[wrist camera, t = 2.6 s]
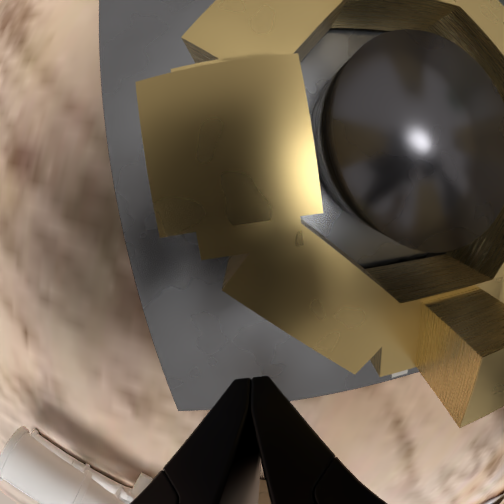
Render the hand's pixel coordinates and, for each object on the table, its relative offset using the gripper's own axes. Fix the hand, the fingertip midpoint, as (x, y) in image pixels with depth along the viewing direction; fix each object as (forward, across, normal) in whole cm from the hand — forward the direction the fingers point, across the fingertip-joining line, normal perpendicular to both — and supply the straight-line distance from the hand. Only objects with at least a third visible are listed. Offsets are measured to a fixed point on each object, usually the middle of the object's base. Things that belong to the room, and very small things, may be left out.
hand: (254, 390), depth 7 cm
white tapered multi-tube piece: (+6, +10, +12) cm, 17 cm away
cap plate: (+5, -6, -6) cm, 10 cm away
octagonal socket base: (+4, -6, -5) cm, 9 cm away
